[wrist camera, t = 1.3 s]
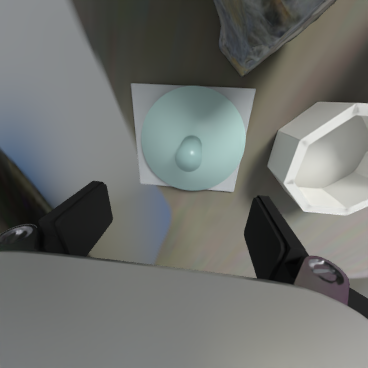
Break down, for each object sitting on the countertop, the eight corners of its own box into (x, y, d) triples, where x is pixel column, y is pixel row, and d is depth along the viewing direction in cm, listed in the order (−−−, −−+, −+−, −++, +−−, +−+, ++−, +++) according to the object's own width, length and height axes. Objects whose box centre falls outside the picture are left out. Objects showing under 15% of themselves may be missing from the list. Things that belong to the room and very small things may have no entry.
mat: (132, 83, 20) (130, 83, 20) (254, 88, 19) (255, 88, 19) (141, 182, 27) (140, 183, 27) (233, 190, 26) (233, 191, 26)
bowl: (287, 100, 20) (314, 100, 15) (396, 105, 19) (463, 107, 14) (260, 187, 25) (274, 208, 20) (343, 194, 24) (377, 218, 20)
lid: (138, 83, 20) (113, 78, 14) (255, 88, 19) (277, 85, 13) (146, 184, 27) (131, 207, 21) (233, 191, 26) (242, 218, 20)
